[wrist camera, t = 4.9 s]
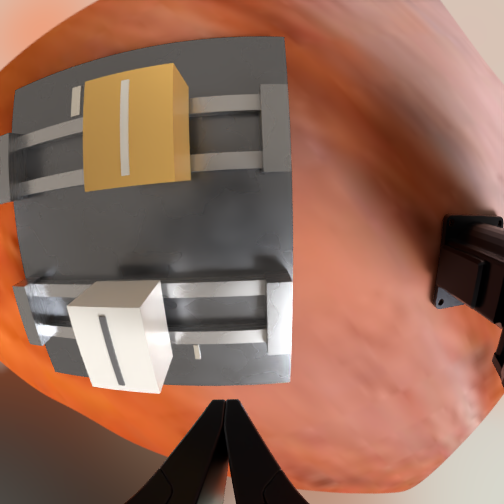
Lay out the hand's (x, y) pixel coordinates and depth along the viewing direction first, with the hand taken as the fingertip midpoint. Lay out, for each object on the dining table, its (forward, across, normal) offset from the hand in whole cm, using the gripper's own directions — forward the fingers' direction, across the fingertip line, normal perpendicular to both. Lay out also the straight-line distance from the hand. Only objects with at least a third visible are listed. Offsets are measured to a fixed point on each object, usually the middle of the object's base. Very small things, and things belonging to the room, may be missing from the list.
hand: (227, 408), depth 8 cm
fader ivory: (+8, +5, 0) cm, 9 cm away
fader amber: (+8, +3, -9) cm, 12 cm away
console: (+9, +5, -4) cm, 11 cm away
